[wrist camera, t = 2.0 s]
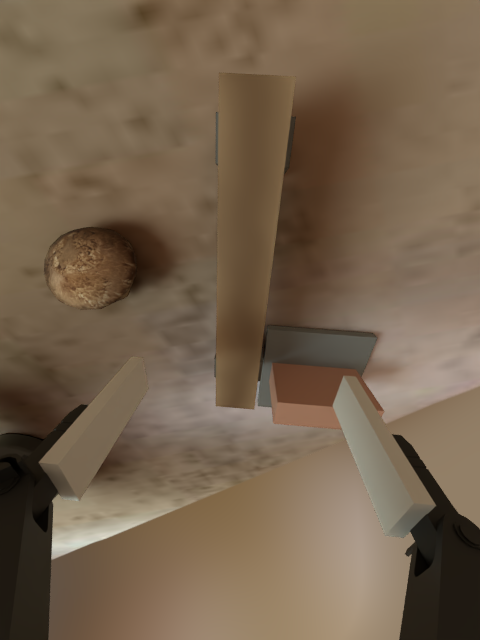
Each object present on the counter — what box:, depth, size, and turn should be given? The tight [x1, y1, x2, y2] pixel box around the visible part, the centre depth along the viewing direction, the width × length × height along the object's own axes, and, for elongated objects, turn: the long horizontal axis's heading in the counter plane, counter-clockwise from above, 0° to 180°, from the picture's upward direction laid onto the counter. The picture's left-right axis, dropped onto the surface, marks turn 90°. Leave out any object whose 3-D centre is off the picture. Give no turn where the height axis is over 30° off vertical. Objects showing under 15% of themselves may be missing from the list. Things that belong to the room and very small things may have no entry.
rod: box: [216, 73, 296, 409], centre depth 16 cm, size 4×22×4 cm, turn 177°
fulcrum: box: [258, 325, 384, 429], centre depth 23 cm, size 12×12×7 cm
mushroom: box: [44, 227, 137, 310], centre depth 20 cm, size 8×8×6 cm
